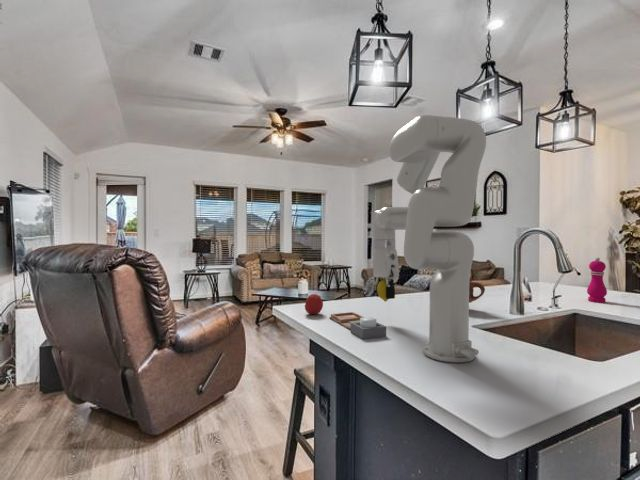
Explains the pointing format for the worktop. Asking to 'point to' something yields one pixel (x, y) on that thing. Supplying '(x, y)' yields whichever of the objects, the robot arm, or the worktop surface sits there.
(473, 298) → the brown mug
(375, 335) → the housing
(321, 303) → the tomato
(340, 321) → the board
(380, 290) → the lemon
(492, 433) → the worktop surface
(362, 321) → the dome
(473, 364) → the worktop surface
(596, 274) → the pepper mill
